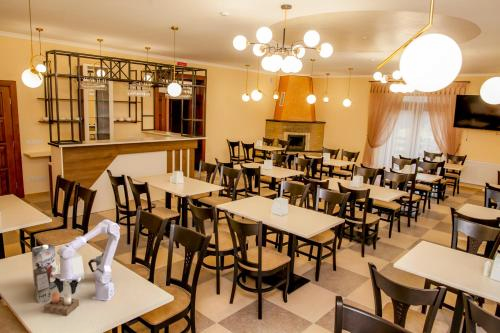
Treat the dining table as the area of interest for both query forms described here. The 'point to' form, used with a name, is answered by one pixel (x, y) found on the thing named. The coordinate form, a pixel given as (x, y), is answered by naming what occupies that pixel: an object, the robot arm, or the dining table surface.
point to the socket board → (61, 307)
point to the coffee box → (42, 284)
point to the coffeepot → (97, 260)
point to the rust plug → (55, 298)
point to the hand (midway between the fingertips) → (67, 292)
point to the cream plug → (67, 299)
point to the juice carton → (45, 260)
